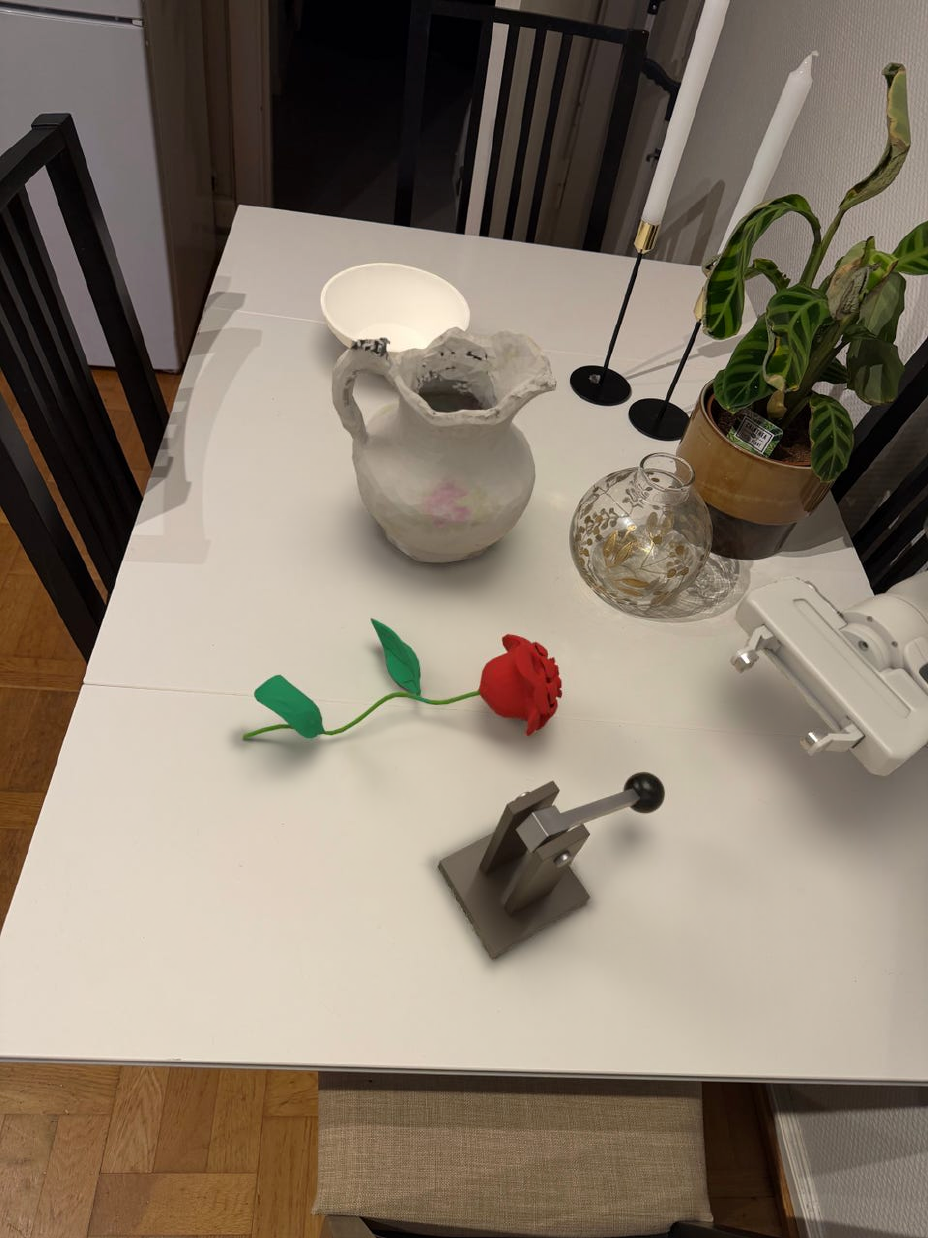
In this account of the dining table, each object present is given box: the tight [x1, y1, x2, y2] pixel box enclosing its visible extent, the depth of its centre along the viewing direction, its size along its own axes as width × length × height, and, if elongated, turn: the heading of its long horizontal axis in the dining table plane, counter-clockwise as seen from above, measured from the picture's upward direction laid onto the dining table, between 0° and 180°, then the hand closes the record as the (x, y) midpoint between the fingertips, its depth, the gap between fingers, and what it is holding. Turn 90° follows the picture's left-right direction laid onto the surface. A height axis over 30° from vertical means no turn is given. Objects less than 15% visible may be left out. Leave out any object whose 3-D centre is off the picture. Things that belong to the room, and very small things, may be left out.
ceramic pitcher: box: [331, 327, 557, 563], centre depth 90 cm, size 22×20×25 cm
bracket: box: [437, 780, 591, 960], centre depth 71 cm, size 10×9×14 cm
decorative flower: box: [242, 617, 563, 740], centre depth 82 cm, size 14×30×10 cm, turn 96°
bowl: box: [319, 262, 471, 359], centre depth 116 cm, size 20×20×7 cm
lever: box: [516, 771, 666, 853], centre depth 72 cm, size 17×4×4 cm, turn 122°
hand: (771, 703), depth 77 cm, fingers open, 8 cm apart
